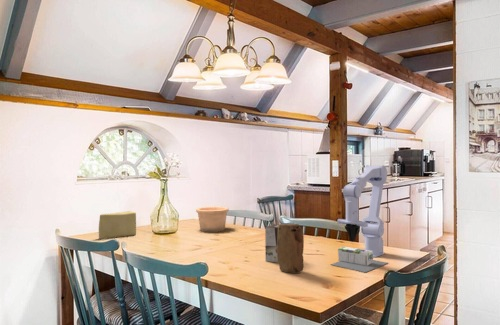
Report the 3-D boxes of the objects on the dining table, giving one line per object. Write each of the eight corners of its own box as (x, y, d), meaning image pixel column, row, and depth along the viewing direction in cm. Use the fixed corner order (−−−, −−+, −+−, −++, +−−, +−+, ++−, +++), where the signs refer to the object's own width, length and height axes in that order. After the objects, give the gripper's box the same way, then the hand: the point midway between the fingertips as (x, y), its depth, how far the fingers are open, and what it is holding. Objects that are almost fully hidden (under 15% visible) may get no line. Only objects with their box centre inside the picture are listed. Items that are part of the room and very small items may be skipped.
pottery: (203, 234, 248) (203, 211, 248) (191, 228, 267) (191, 208, 267) (234, 230, 258) (233, 209, 258) (220, 226, 277) (220, 206, 277)
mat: (354, 256, 187) (354, 256, 187) (388, 263, 175) (388, 262, 175) (330, 265, 173) (330, 264, 173) (365, 272, 161) (365, 272, 161)
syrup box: (343, 246, 183) (373, 250, 174) (343, 258, 183) (373, 263, 174) (337, 248, 179) (368, 252, 170) (338, 261, 179) (368, 266, 170)
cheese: (102, 240, 231) (102, 215, 231) (96, 238, 239) (95, 213, 238) (136, 235, 247) (136, 211, 246) (129, 233, 254) (129, 210, 254)
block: (275, 269, 166) (275, 223, 166) (287, 266, 171) (287, 221, 171) (295, 275, 158) (294, 226, 158) (306, 271, 163) (306, 224, 163)
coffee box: (277, 262, 178) (277, 227, 178) (265, 261, 181) (264, 226, 181) (286, 258, 186) (285, 224, 186) (274, 256, 189) (273, 223, 189)
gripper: (333, 210, 179) (333, 240, 179) (361, 213, 168) (362, 244, 168) (342, 209, 184) (342, 237, 184) (370, 212, 173) (370, 242, 173)
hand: (352, 241), depth 176 cm, fingers closed
